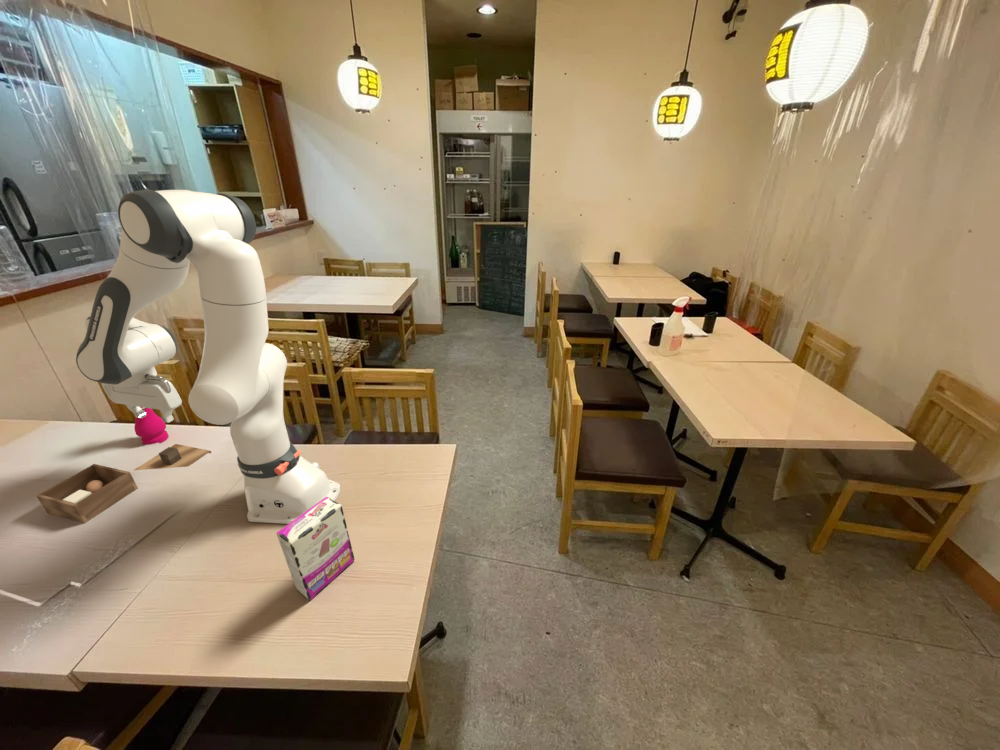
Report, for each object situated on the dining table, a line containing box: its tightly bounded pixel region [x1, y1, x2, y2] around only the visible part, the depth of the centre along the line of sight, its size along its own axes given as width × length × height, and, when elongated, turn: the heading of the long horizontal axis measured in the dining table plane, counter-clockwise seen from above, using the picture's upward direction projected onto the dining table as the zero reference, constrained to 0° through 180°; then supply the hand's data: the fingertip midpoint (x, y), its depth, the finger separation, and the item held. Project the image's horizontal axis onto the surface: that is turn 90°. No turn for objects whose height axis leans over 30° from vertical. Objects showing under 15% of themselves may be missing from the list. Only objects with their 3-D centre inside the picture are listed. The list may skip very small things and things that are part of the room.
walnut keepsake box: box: [36, 463, 139, 524], centre depth 98 cm, size 12×12×6 cm
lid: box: [133, 443, 212, 471], centre depth 113 cm, size 13×13×5 cm
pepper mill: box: [133, 407, 169, 446], centre depth 118 cm, size 7×7×20 cm
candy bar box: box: [275, 497, 356, 601], centre depth 79 cm, size 11×5×16 cm, turn 148°
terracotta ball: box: [86, 480, 104, 493], centre depth 102 cm, size 3×3×3 cm
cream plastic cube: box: [63, 490, 92, 504], centre depth 97 cm, size 4×4×4 cm
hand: (155, 419), depth 107 cm, fingers open, 8 cm apart
